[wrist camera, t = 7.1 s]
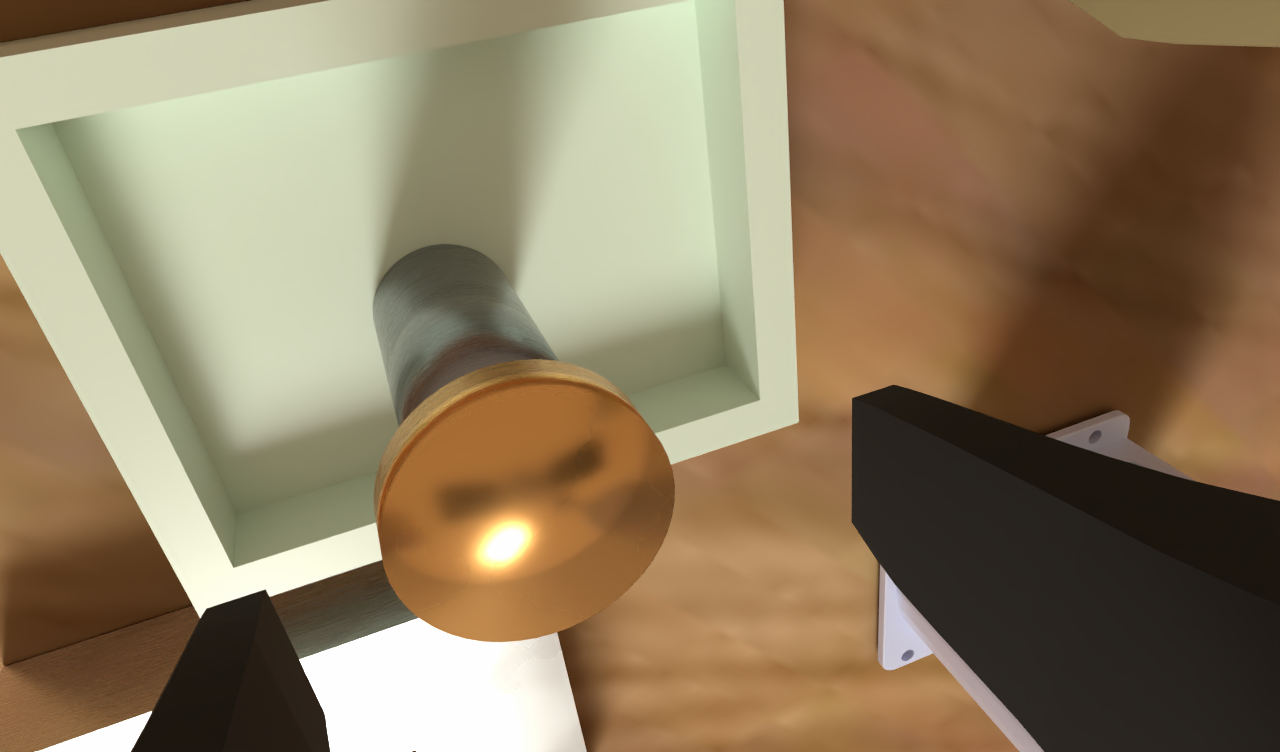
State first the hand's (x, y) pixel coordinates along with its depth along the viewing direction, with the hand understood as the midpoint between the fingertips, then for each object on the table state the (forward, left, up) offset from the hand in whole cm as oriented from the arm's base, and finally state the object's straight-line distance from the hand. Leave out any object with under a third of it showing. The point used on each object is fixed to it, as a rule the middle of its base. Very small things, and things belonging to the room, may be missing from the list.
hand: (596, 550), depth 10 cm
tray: (0, 0, -10) cm, 10 cm away
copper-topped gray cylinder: (+1, +1, -10) cm, 10 cm away
